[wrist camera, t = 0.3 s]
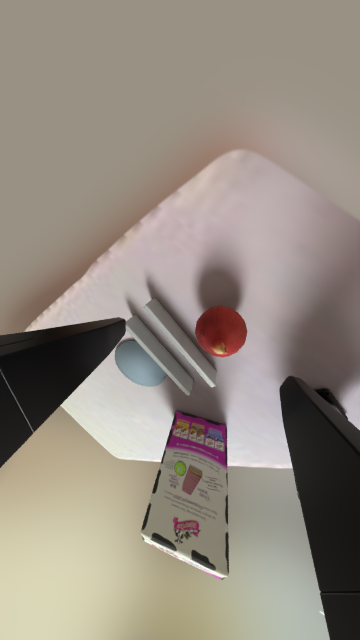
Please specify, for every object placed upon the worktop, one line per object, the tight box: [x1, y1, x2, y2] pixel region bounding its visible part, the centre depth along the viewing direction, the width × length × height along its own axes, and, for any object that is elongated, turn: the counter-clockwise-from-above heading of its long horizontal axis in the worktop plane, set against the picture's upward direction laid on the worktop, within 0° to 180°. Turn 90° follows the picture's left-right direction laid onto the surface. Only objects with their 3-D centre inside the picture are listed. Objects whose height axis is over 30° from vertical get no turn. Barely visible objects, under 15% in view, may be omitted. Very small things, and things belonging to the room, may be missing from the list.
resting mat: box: [115, 341, 166, 386], centre depth 29 cm, size 11×11×1 cm
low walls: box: [126, 298, 217, 396], centre depth 24 cm, size 16×6×3 cm, turn 41°
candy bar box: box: [141, 411, 229, 580], centre depth 26 cm, size 11×5×16 cm, turn 88°
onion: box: [195, 306, 247, 357], centre depth 17 cm, size 6×6×8 cm
